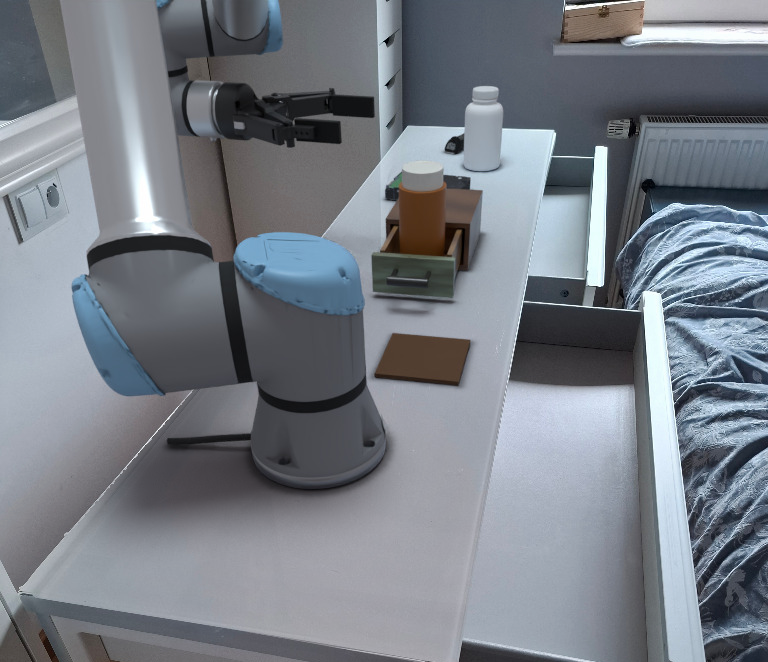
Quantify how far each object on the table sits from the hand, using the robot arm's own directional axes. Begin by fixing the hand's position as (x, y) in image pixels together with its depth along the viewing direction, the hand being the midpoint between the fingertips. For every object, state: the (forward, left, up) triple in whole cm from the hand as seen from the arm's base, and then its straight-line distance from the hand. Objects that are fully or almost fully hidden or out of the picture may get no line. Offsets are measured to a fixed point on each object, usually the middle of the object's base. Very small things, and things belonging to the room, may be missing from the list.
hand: (357, 119), depth 102 cm
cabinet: (+14, +5, -23) cm, 27 cm away
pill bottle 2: (+39, +44, -23) cm, 63 cm away
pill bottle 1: (+8, -6, -21) cm, 23 cm away
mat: (0, -29, -23) cm, 37 cm away
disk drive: (+22, +31, -23) cm, 44 cm away
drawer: (+7, -8, -22) cm, 24 cm away
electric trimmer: (+42, +60, -23) cm, 77 cm away
